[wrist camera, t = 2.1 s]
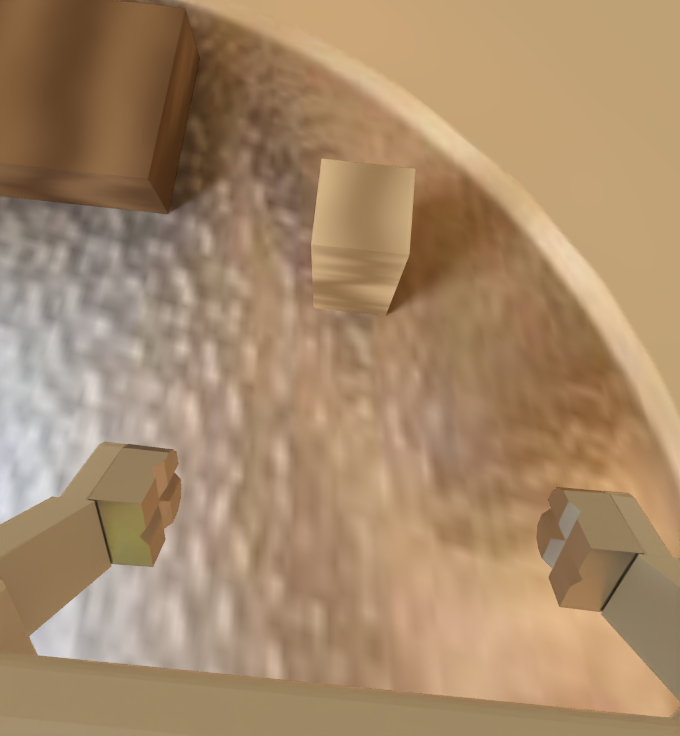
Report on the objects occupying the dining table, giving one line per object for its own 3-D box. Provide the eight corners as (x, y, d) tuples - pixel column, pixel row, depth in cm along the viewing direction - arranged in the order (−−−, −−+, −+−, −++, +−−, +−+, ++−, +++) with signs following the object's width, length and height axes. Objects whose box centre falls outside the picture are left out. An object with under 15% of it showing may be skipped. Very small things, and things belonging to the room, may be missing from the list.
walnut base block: (-20, 196, 30) (-70, 155, 26) (28, 44, 33) (-11, -15, 29) (170, 217, 30) (147, 178, 27) (201, 63, 33) (185, 8, 29)
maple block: (313, 307, 29) (310, 244, 21) (321, 242, 30) (321, 158, 22) (385, 315, 29) (409, 254, 21) (391, 249, 30) (415, 169, 22)
